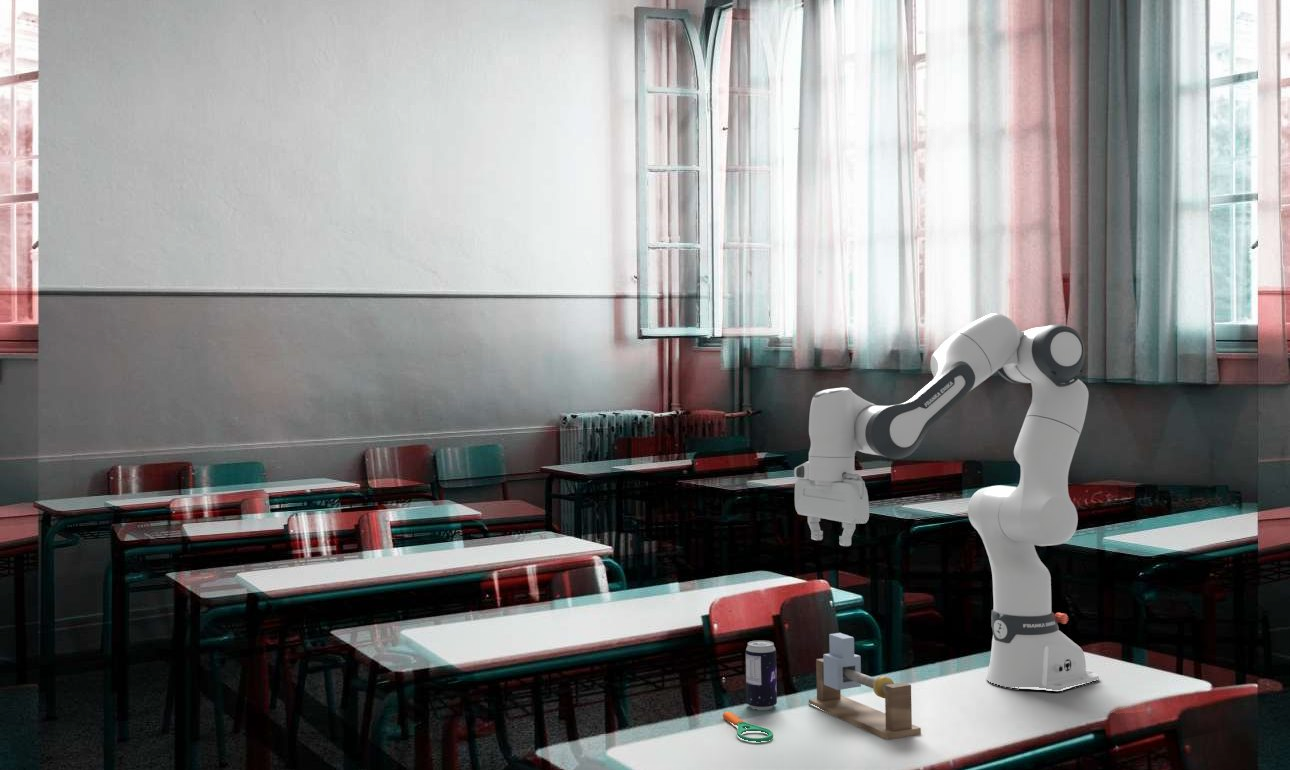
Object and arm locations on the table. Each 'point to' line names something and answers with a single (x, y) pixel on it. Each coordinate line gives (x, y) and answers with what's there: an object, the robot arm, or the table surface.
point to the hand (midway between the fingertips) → (830, 542)
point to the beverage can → (761, 675)
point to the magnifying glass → (750, 727)
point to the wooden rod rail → (867, 718)
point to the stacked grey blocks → (840, 662)
